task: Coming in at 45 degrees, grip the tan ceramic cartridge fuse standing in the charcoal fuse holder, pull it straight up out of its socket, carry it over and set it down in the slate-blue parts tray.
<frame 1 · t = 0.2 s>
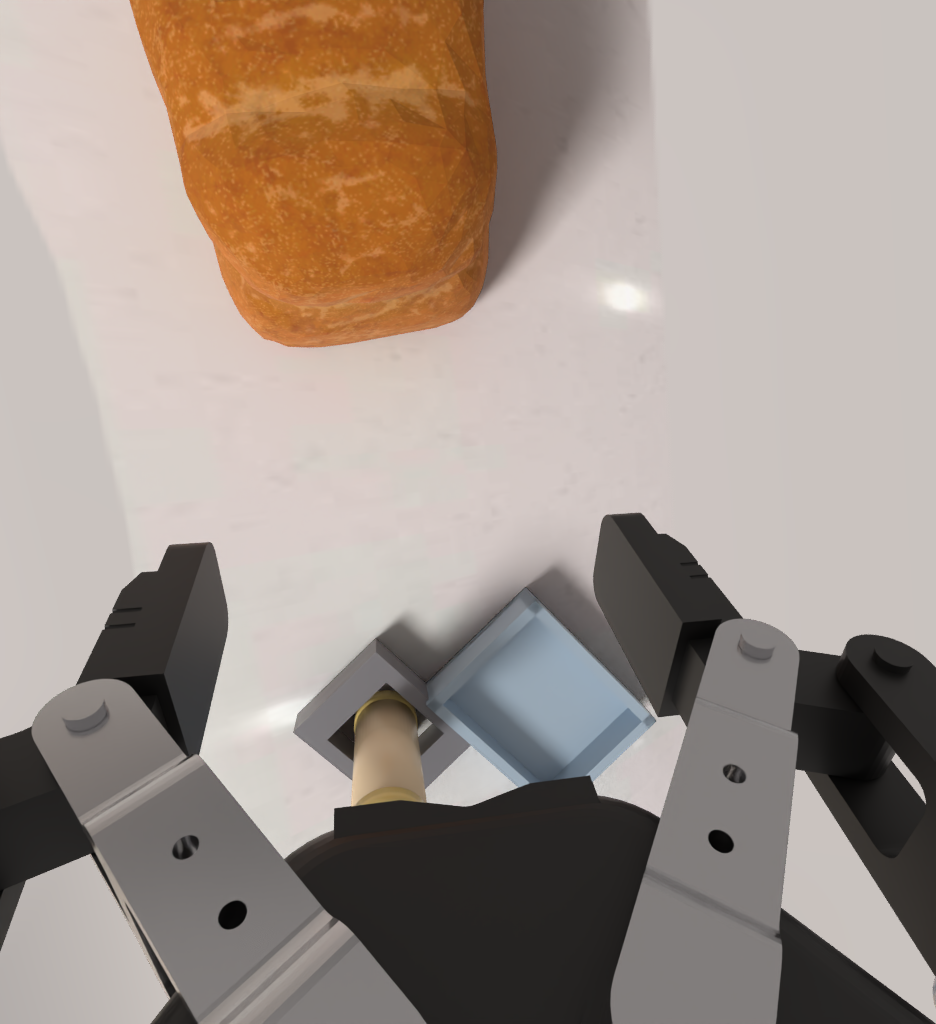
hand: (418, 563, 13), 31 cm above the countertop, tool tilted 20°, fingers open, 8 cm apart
fuse holder: (385, 718, 47), on the countertop
fuse: (385, 718, 47), resting in fuse holder
bread: (332, 129, 40), on the countertop
parts tray: (534, 694, 49), on the countertop
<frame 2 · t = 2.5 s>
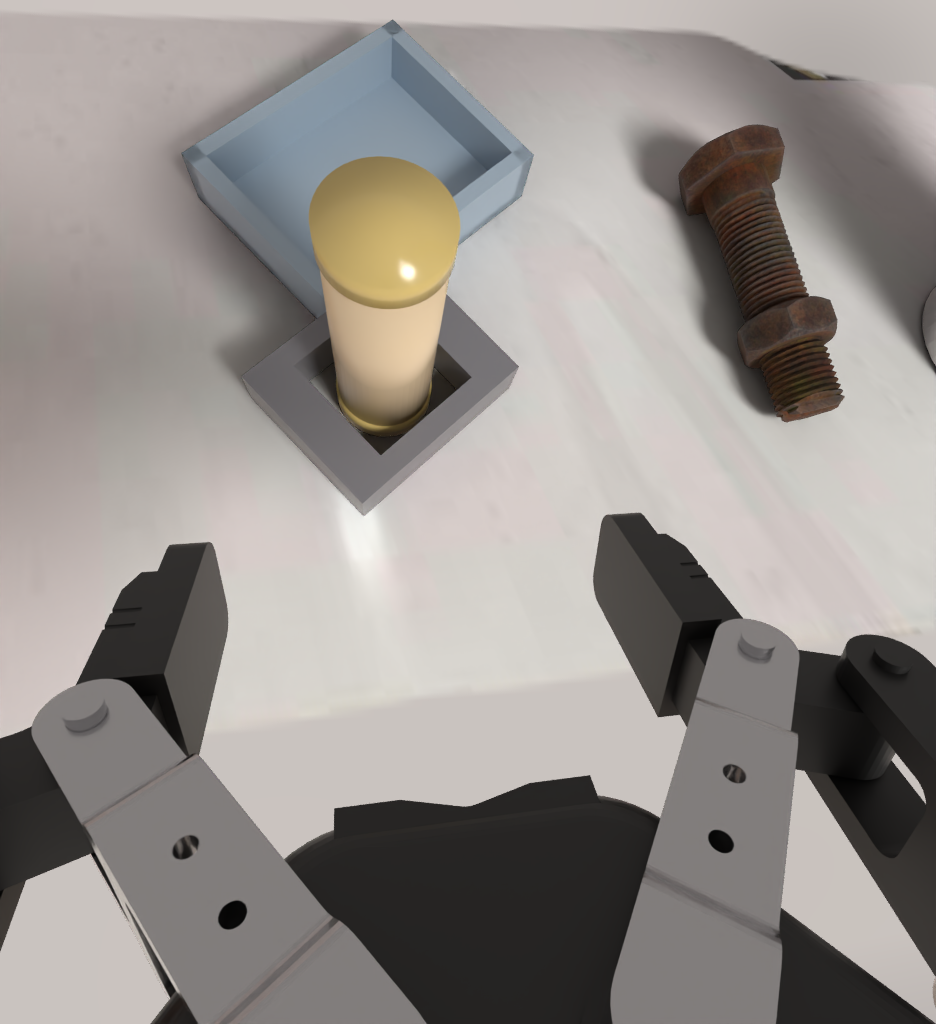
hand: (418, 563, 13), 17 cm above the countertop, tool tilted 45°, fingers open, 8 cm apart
bolt: (739, 307, 37), on the countertop
fuse holder: (384, 393, 32), on the countertop
fuse: (384, 393, 32), resting in fuse holder
parts tray: (366, 196, 34), on the countertop
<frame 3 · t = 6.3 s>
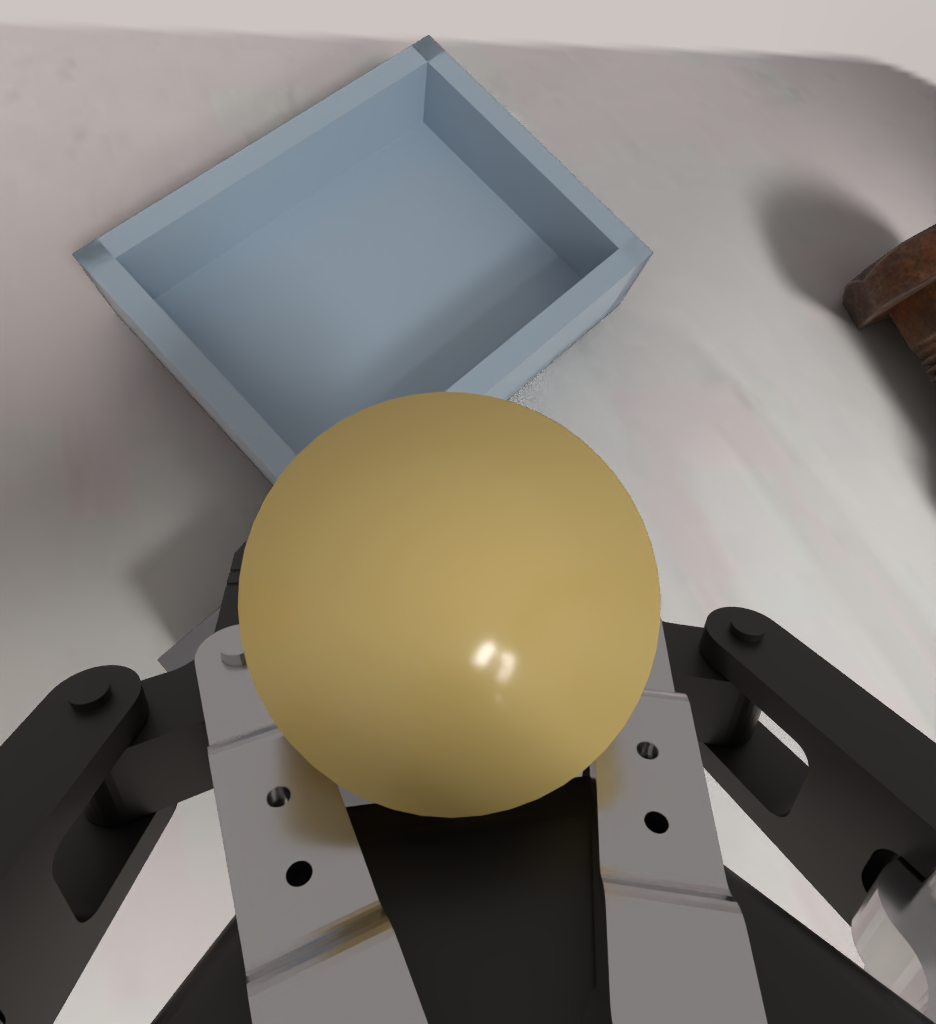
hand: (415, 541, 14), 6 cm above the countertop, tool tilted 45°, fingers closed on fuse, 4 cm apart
fuse holder: (407, 643, 19), on the countertop
fuse: (409, 642, 19), resting in fuse holder, touching gripper
parts tray: (382, 307, 22), on the countertop
when the fingers open (8 cm above the countertop, at t = 12.2 s): fuse drops 1 cm, resting on parts tray.
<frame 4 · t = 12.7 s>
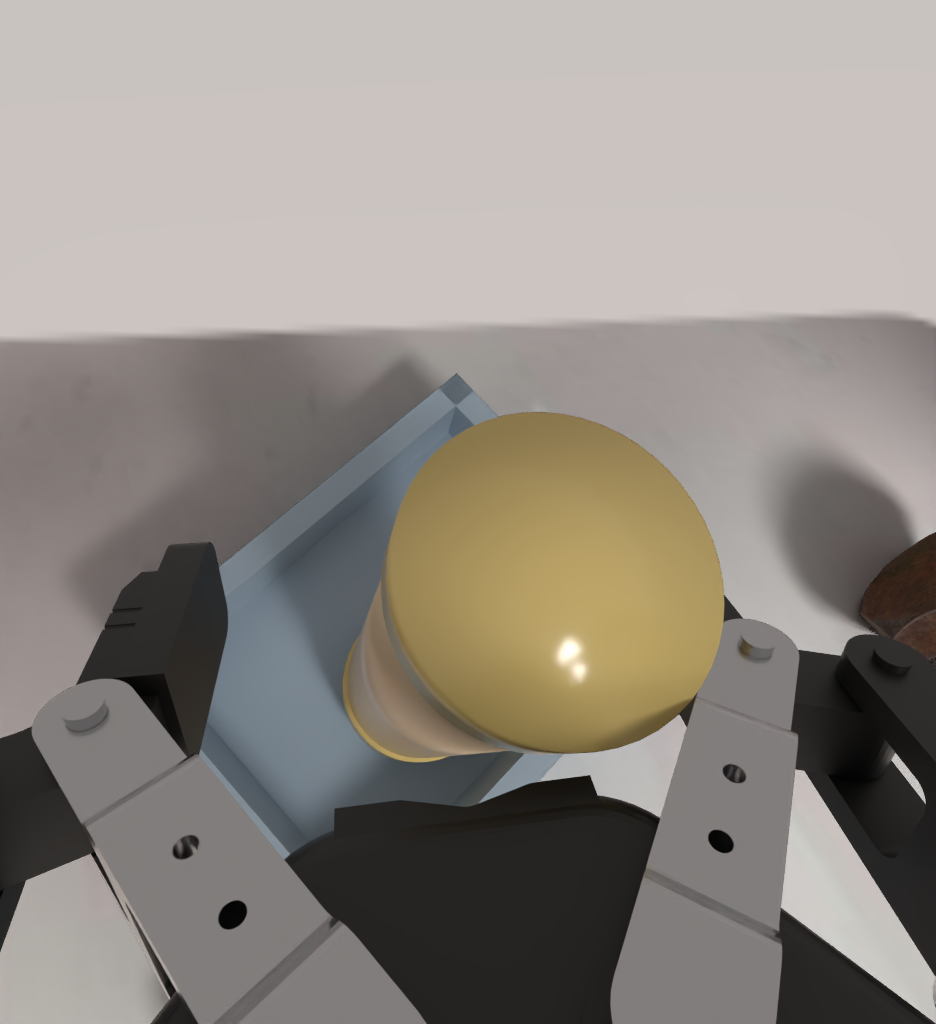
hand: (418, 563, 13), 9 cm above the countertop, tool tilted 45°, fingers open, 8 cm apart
fuse: (415, 684, 20), point 1 cm above the countertop, tilted 9°, touching parts tray
parts tray: (407, 645, 21), on the countertop
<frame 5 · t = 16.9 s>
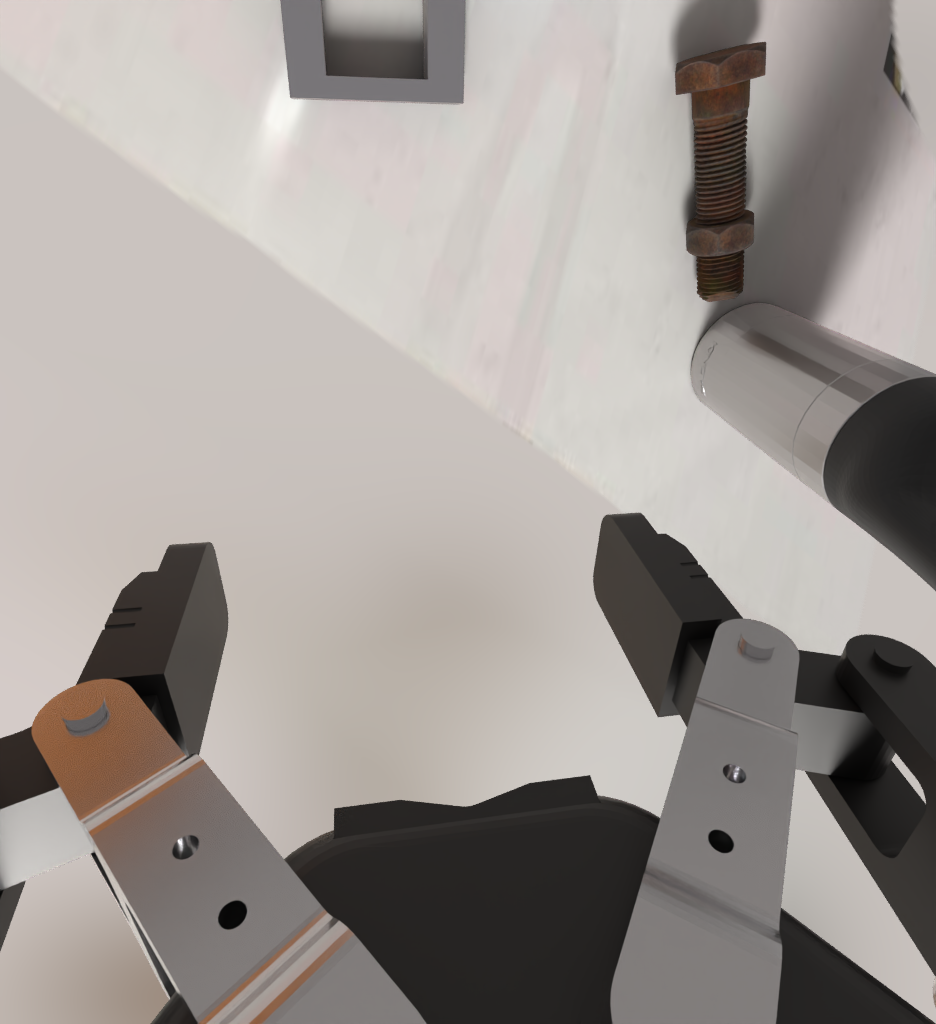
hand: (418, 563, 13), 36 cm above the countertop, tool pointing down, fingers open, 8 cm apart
bolt: (700, 183, 45), on the countertop
fuse holder: (373, 20, 37), on the countertop
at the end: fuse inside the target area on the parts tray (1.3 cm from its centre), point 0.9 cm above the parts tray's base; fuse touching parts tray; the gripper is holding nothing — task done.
